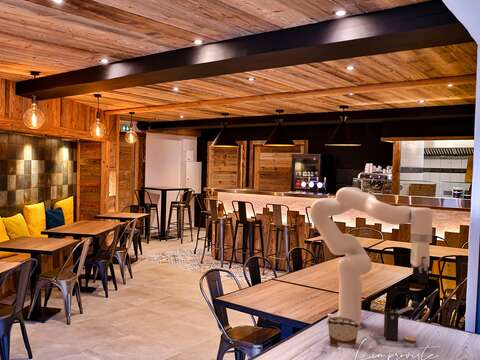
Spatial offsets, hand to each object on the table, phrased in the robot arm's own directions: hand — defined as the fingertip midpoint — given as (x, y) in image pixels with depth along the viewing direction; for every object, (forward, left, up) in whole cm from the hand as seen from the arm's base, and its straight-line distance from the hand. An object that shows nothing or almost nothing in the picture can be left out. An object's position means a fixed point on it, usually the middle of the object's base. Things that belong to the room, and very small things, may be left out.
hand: (420, 280), depth 187 cm
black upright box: (-10, -1, -26) cm, 28 cm away
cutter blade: (-5, -1, -14) cm, 15 cm away
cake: (-3, -1, -26) cm, 26 cm away
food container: (-29, -10, -26) cm, 41 cm away
